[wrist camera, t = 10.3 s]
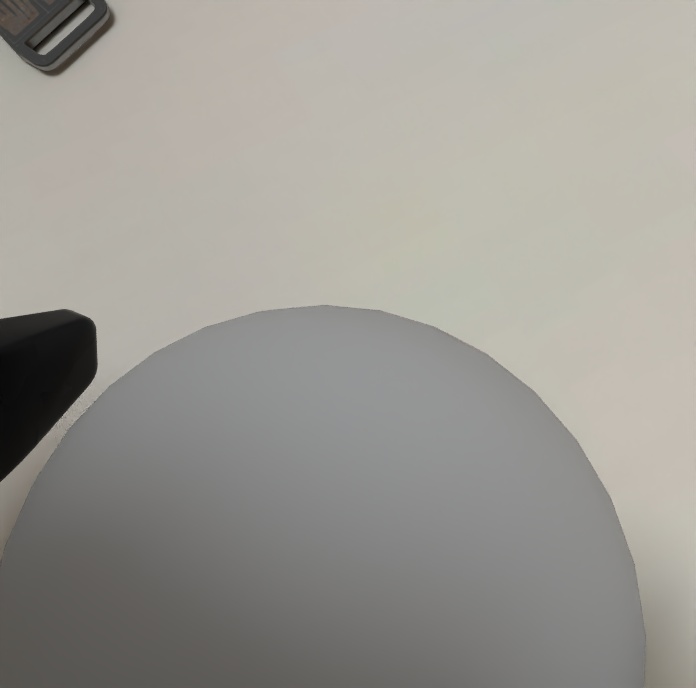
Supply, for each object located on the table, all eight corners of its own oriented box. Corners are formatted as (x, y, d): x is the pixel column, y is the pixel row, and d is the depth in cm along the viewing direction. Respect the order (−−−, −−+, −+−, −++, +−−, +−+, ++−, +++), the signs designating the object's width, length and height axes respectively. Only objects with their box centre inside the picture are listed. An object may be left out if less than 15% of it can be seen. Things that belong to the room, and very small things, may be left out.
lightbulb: (527, 423, 15) (735, 178, 4) (533, 725, 13) (893, 1569, 3) (264, 415, 16) (-114, 201, 5) (241, 697, 14) (-372, 1232, 4)
